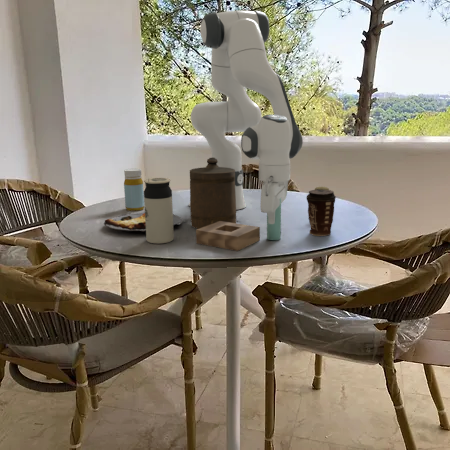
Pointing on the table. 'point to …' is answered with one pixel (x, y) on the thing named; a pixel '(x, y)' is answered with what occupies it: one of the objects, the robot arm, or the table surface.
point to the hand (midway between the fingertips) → (273, 221)
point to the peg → (275, 226)
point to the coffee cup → (320, 211)
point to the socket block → (228, 235)
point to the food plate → (132, 222)
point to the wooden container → (212, 195)
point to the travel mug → (158, 210)
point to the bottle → (133, 190)
